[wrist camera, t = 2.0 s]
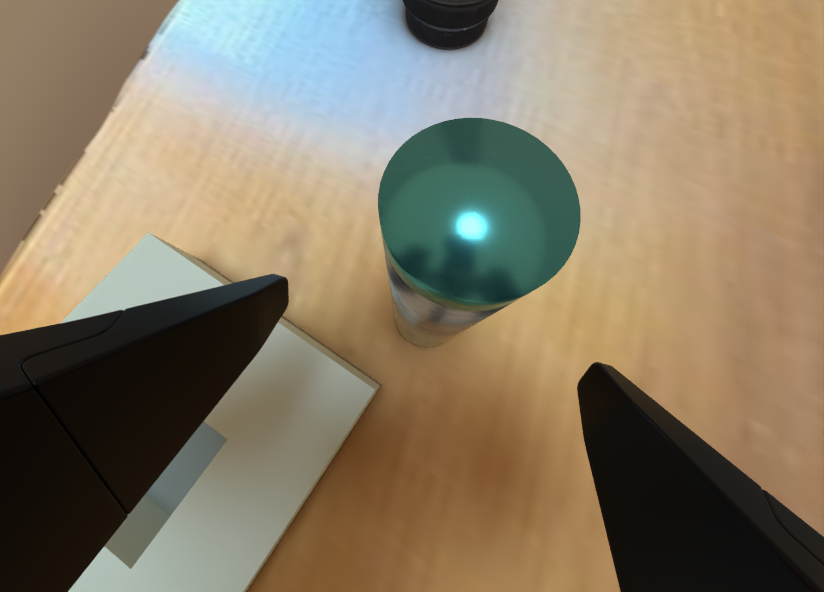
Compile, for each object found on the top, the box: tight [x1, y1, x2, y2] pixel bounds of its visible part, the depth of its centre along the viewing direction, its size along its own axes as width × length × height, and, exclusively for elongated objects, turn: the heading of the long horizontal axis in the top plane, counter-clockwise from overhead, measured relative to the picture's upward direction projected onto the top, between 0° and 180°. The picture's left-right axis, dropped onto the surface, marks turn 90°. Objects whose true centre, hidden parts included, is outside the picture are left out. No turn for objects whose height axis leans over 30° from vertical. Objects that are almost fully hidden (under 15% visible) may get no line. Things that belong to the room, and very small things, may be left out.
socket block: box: [61, 233, 381, 592], centre depth 14 cm, size 16×14×4 cm
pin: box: [378, 118, 580, 347], centre depth 12 cm, size 4×4×13 cm
